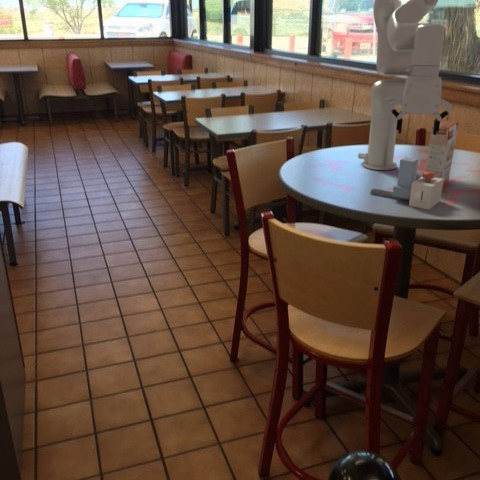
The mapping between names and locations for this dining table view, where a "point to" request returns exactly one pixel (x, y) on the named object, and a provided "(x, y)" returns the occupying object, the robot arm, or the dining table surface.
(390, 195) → the rail
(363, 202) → the dining table surface
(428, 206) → the white button housing
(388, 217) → the dining table surface
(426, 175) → the button
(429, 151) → the cracker box
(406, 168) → the carriage
